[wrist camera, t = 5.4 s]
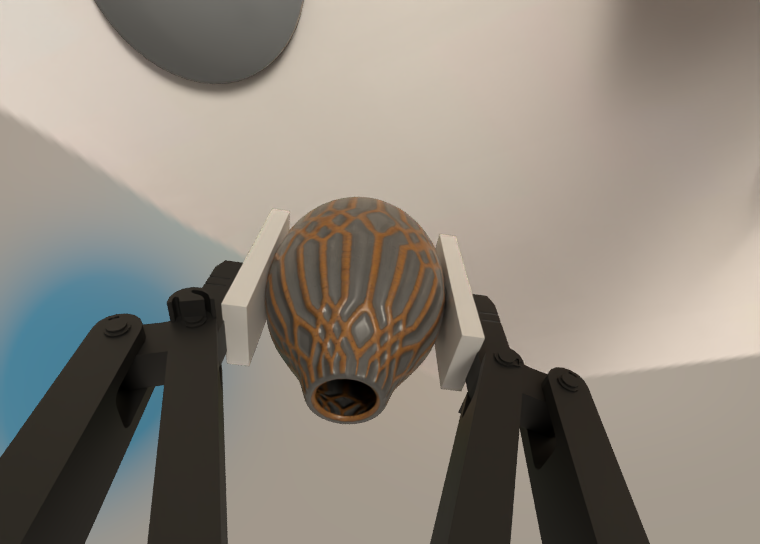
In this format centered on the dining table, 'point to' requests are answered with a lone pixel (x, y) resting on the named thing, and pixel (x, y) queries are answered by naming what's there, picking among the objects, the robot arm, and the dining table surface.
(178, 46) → the grey flat disc
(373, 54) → the dining table surface
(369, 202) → the vase
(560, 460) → the robot arm
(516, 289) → the dining table surface
